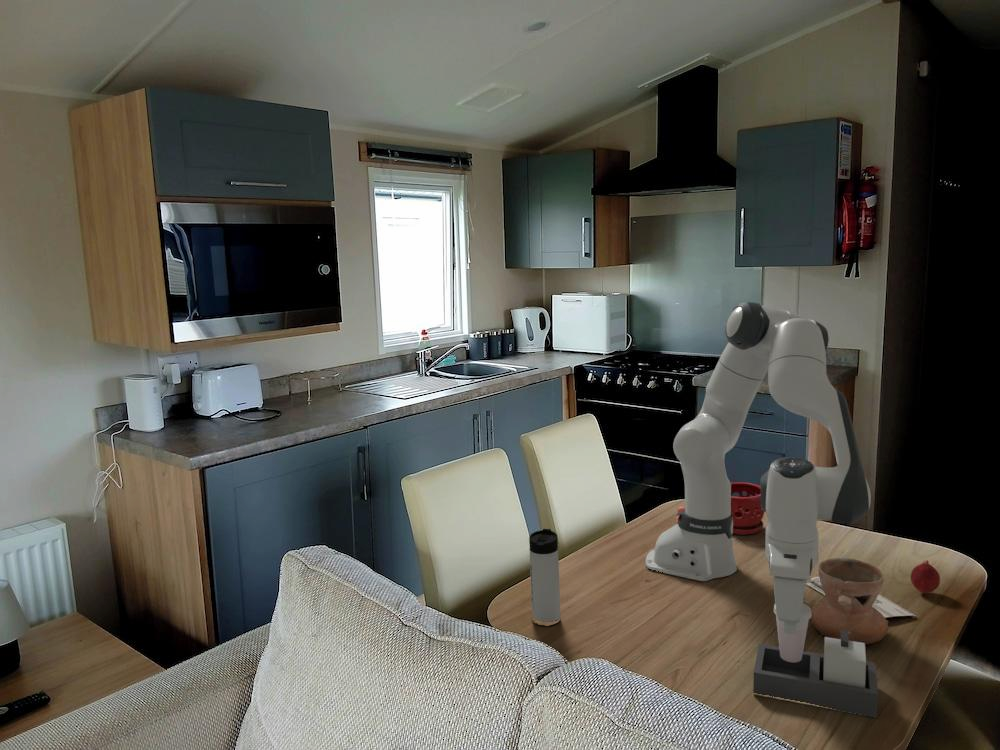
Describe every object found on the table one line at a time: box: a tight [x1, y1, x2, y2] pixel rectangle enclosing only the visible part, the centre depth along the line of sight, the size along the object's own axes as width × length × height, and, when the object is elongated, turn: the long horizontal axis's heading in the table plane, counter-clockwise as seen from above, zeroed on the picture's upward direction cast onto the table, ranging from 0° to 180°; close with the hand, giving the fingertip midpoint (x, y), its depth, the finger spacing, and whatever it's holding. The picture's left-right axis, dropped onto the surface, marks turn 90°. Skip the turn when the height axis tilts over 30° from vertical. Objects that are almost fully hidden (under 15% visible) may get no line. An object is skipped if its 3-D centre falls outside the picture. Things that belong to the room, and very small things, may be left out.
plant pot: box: [730, 481, 766, 536], centre depth 213 cm, size 13×13×12 cm
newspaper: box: [806, 575, 918, 624], centre depth 169 cm, size 23×12×2 cm, turn 13°
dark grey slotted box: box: [753, 629, 879, 719], centre depth 139 cm, size 20×16×10 cm
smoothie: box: [773, 602, 812, 662], centre depth 136 cm, size 6×6×14 cm
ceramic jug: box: [810, 557, 889, 645], centre depth 155 cm, size 18×14×14 cm
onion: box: [910, 559, 941, 595], centre depth 170 cm, size 6×6×8 cm
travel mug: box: [528, 528, 561, 622], centre depth 165 cm, size 6×7×20 cm
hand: (790, 621), depth 136 cm, fingers closed on smoothie, 6 cm apart
